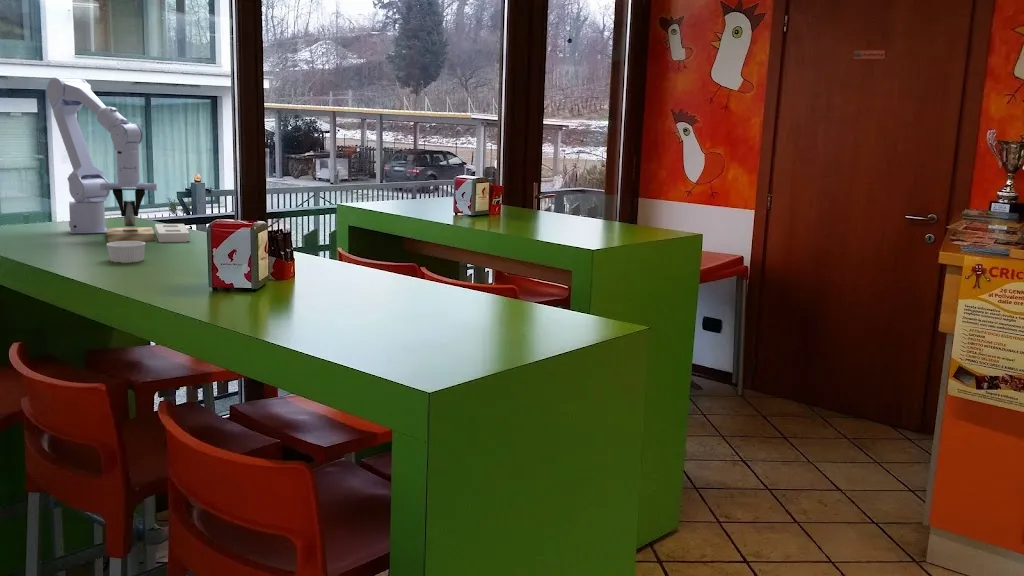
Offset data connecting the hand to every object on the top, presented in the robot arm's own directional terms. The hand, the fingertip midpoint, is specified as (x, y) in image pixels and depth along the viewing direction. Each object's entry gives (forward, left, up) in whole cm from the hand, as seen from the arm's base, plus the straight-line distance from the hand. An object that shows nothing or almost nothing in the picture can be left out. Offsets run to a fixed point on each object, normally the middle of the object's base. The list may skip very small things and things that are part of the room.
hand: (129, 216), depth 255 cm
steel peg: (0, 0, -3) cm, 3 cm away
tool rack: (+11, 0, -6) cm, 13 cm away
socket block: (0, 0, -6) cm, 6 cm away
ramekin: (-2, -35, -7) cm, 36 cm away
